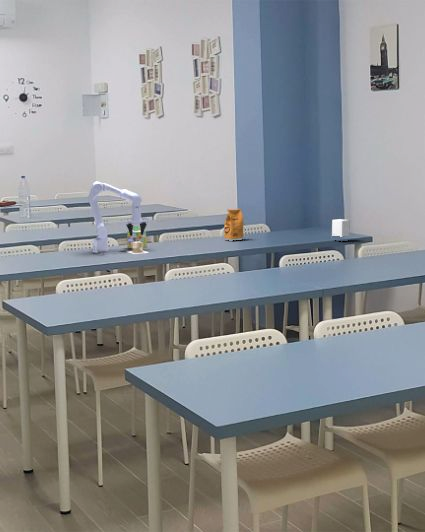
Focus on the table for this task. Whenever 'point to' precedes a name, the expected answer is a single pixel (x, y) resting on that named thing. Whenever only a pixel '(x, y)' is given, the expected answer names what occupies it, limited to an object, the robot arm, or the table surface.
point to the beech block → (138, 247)
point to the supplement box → (340, 227)
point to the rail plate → (126, 250)
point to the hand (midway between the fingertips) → (136, 235)
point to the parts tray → (137, 253)
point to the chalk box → (136, 237)
